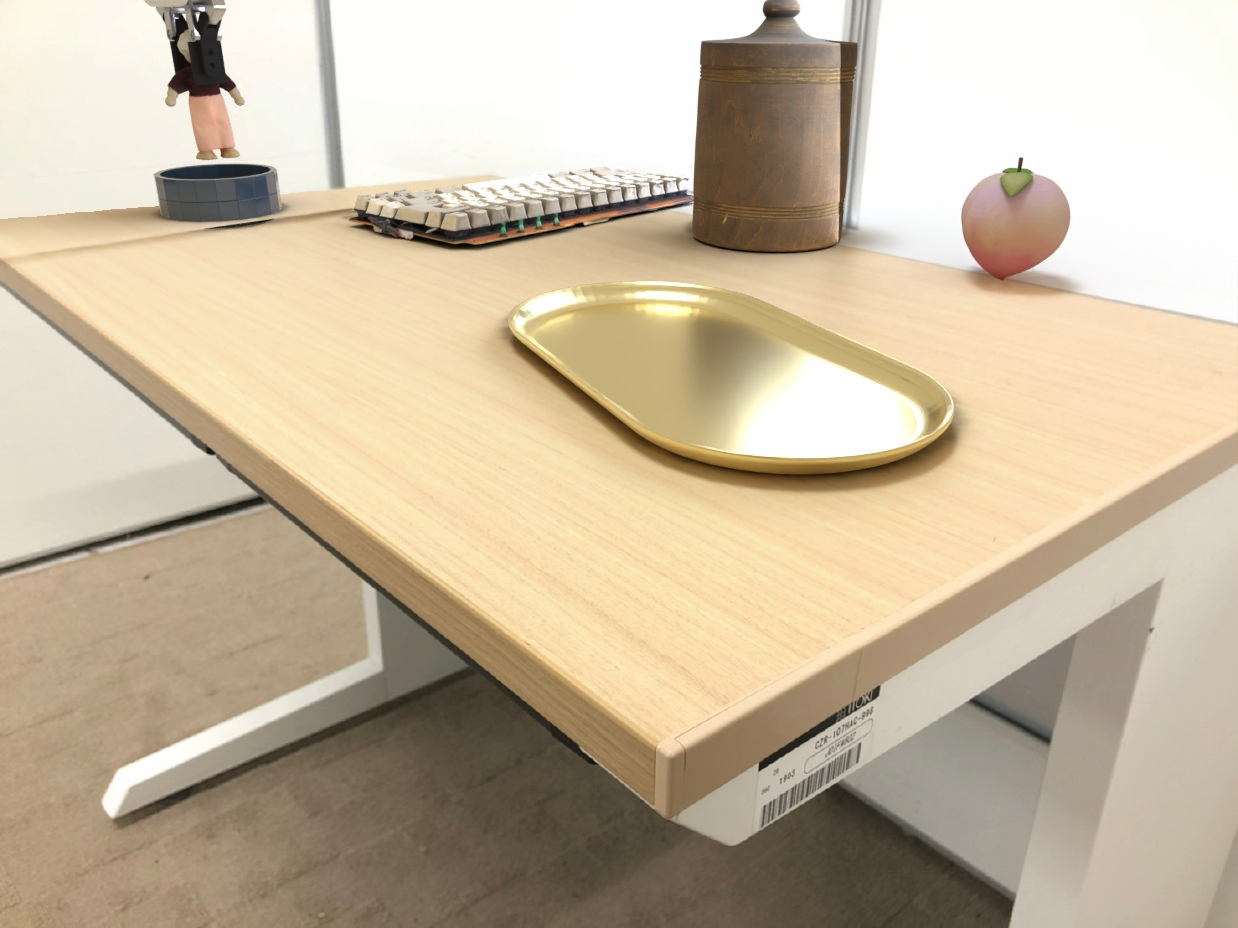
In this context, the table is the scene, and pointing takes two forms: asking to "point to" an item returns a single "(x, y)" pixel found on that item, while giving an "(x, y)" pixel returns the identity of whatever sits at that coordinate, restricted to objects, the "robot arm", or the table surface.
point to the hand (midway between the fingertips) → (201, 81)
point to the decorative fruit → (1014, 221)
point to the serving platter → (733, 377)
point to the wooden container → (773, 137)
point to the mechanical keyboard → (519, 204)
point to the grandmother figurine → (205, 108)
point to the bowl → (218, 193)
